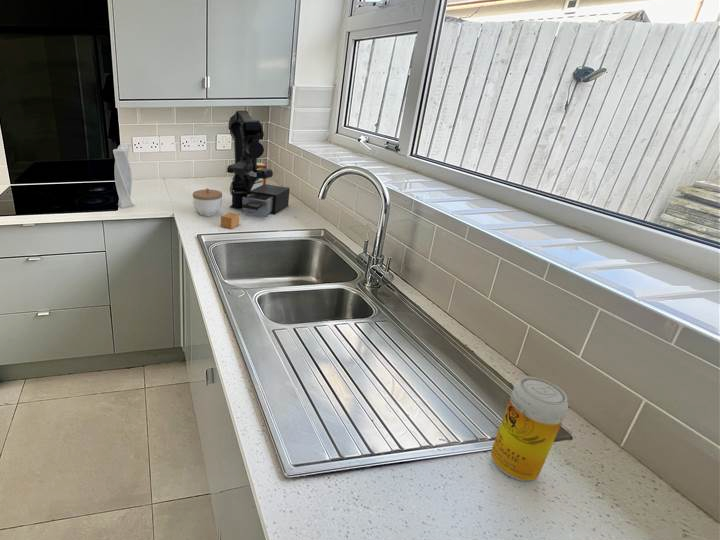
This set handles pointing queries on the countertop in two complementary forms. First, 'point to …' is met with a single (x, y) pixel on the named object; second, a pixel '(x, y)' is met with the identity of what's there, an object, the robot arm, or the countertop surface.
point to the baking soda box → (259, 180)
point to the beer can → (529, 428)
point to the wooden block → (229, 220)
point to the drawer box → (274, 195)
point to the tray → (258, 204)
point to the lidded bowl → (207, 201)
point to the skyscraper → (123, 176)
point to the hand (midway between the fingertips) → (248, 191)
